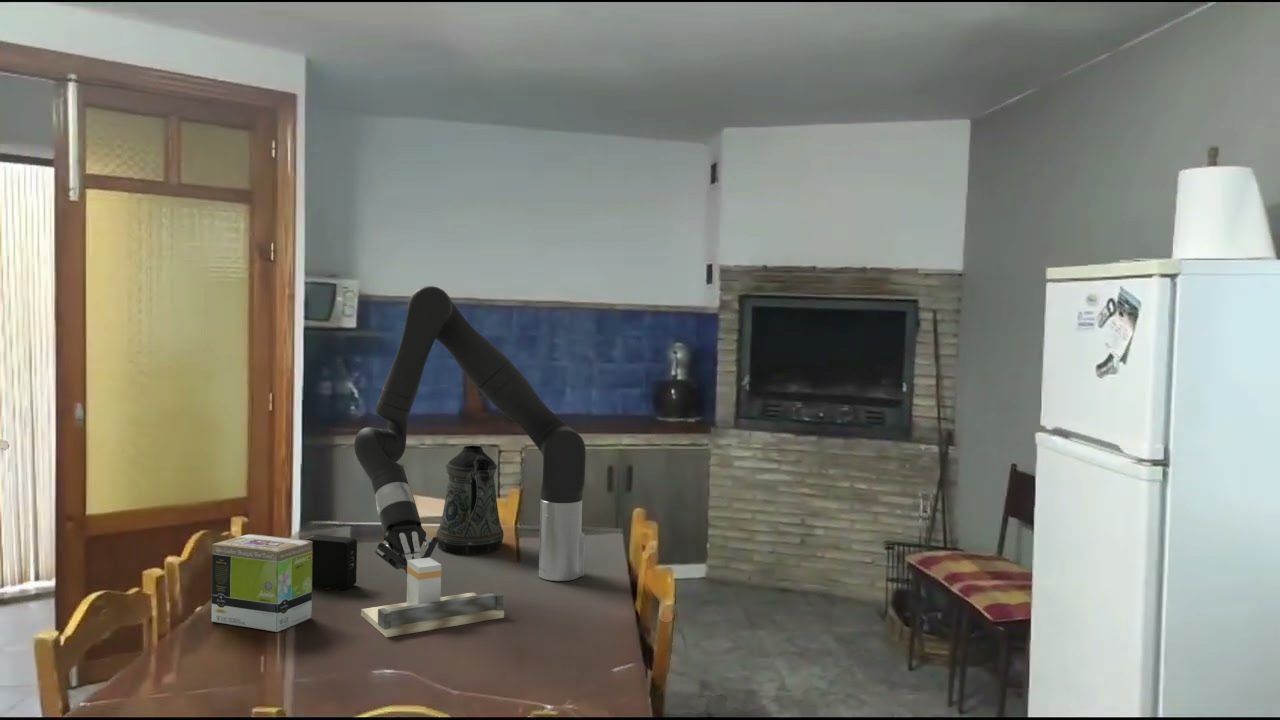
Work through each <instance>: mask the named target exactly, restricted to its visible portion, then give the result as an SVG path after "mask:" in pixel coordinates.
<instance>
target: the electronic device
mask: <svg viewBox="0 0 1280 720" xmlns="http://www.w3.org/2000/svg"><path fill="white" fill-rule="evenodd" d="M305 540H309V541H312V588H314V587H318V588H317V589H324V588H329V590H334V589H338V590H337V591H346V590H347V589H348V588H349V589H350V587H353V586H354V585H356V583H357V569H358V568H357V564H358V562H357V561H358V560H357V559H358V558H357V557H358V541H357V539H356V538H354V537H347V536H346V537H345V536H334V535H322V534H316V535H311V536H310V537H306V538H305Z"/></svg>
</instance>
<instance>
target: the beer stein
mask: <svg viewBox="0 0 1280 720" xmlns="http://www.w3.org/2000/svg"><path fill="white" fill-rule="evenodd" d="M497 468H498V465H497V464H496V463H495V461H494V460H493V459H492V458H491V457H490V456H489V455H487V453H485V451H484V450H483V447H482V446H481V445H480V446H479V445H466V446H463V448H462V451H460V452H459V453H458V454H457V455H455V456H454V457H453V458H452V459H451V460H449V461H448V462H447V464H446V465H445V469H446V473H447V474H448V481H447V488H446V492H445V498H444V499H445V500H444V505H443V511H442V516H441V519H440V524H439V526H438V528H437V531H436V533H435V537H437V538H438V542H437V549H438V548H439V549H438V550H440V551H442V552H444V553H447V554H453V555H464V556H465V555H481V554H490V553H494V552H497V551H498V550H500V549H502V544H503V539H504V529H503V527H502V524H501V521H500V516H499V510H498V509H499V508H498V501H497V494H496V483H495V474H496V472H497Z"/></svg>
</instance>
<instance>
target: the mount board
mask: <svg viewBox="0 0 1280 720" xmlns="http://www.w3.org/2000/svg"><path fill="white" fill-rule="evenodd" d="M406 605H407V601H406V602H400V603H393V604H387V605H379V606H374V607H373V606H372V607H368V608H367V607H366V608H361V610H360V615H361V617H362V618H363V619H364V620H366V622H368V623H370V625H371V626H372V627H373V628H375V629H376V630H377V631H378V632H380V633H381V634H382V635H383V636H384V637H385V638H391V637H396V636H398V637H399V636H402V635H403V636H404V635H408V634H416V633H419V632H420V633H421V632H426V631H431V630H437V629H444V628H449V627H456V626H462V625H467V624H472V623H474V624H475V623H480V622H484V621H490V620H496V619H504V618H505V610H504V595H503V594H502V593H500V592H499V591H495V590H494V591H490V593H484V594H477V593H475V592H466V593H459V594H454V595H453V594H451V595H447V596H441V600H440V601H436V602H430V603H423V604H417V605H410V606H406Z"/></svg>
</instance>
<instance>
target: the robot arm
mask: <svg viewBox="0 0 1280 720" xmlns="http://www.w3.org/2000/svg"><path fill="white" fill-rule="evenodd" d="M436 340H437V341H438V342H439V343H440V344H442V346H443V347H445V348H446V349H447V351H448V352H449V353H450V355H452V357H453V359H454V360H455V362H456V363H457V364H458V365H459V367H460V368H461V370H462V371H463V373H464V374H465V375H466V377H468V379H469V380H470V382H471V383H472V384H473V386H475V387H476V389H477V390H478V391H480V393H481V394H482V395H483V396H484V397H485V398H486V399H487V401H489V402H490V403H491V404H492V405H493V406H494V407H495V408H496V409H498V410H499V411H500V412H501V413H503V414H504V415H505V416H506V417H508V418H510V419H511V421H513V422H515V423H516V424H517V425H518V426H519V427H520V428H521V429H522V430H523V431H524V432H525V433H526V435H528V436H527V437H529V439H530V440H532V442H533V444H534V445H535V446H536V447H537V449H538V450H539V452H540V454H541V455H542V456H543V457H542V459H543V460H542V461H543V462H542V482H541V487H540V511H539V512H540V515H539V543H538V545H539V547H538V548H539V549H538V550H539V552H538V577H539V578H540V579H544V580H546V581H555V582H564V581H565V582H567V581H572V580H577V579H578V578H580V577H585V576H584V573H585V571H584V570H585V546H586V545H585V544H586V543H585V542H586V535H585V533H584V532H582V522H583V521H582V516H583V514H582V513H583V492H584V488H585V478H586V477H585V476H586V475H585V474H586V473H585V472H586V458H587V457H586V453H587V452H586V445H585V442H584V439H583V437H582V436H581V435H580V433H579V432H577V431H576V430H575V429H573V428H572V427H570V426H569V425H568V424H567V423H566V422H564V421H563V420H562V419H561V418H560V417H559V416H557V415H556V414H555V413H554V412H553V411H551V409H549V408H548V407H547V405H546V404H545V403H544V402H543V400H542V399H541V398H540V397H539V395H538V393H537V392H536V391H535V389H534V388H533V386H532V385H531V384H530V383H529V381H528V380H527V378H526V377H525V376H524V375H523V374H522V372H520V370H519V369H518V368H517V367H516V366H515V365H514V364H513V363H512V362H511V360H509V358H508V357H507V356H505V354H503V352H502V351H500V350H499V349H498V348H497V347H496V346H495V345H494V344H493V343H491V342H490V341H489V340H488V339H487V338H486V337H484V336H483V335H481V333H479V332H478V331H477V330H476V329H475V328H474V327H473V326H472V325H471V324H470V323H469V322H468V320H467V319H466V318H465V316H463V314H462V313H461V311H460V310H459V309H458V308H457V306H456V305H455V303H454V302H453V301H452V299H451V298H450V296H449V295H448V293H447V292H446V291H445V290H443V289H441V288H440V287H438V286H433V285H432V286H431V285H428V286H427V285H426V286H423V287H422V286H421V287H419V288H418V289H416V290H415V291H414V292H413V293H412V294H411V295H410V297H409V298H408V301H407V314H406V319H405V325H404V328H403V334H402V338H401V341H400V345H399V348H398V349H397V353H396V355H395V357H394V360H393V362H392V365H391V367H390V370H389V372H388V374H387V376H386V379H385V382H384V385H383V387H382V390H381V392H380V395H379V398H378V400H377V403H376V405H375V414H377V415H378V417H380V418H381V419H384V420H385V421H387V429H381V428H377V427H371V426H368V427H363V428H362V429H360V430H359V431H358V433H357V434H356V436H355V439H354V441H353V442H354V444H353V446H354V447H353V449H354V453H355V456H356V459H357V461H358V462H359V464H360V466H361V467H362V469H363V470H364V472H365V474H366V475H367V476H368V478H369V479H370V481H371V484H372V489H373V492H374V495H375V502H376V509H377V510H376V511H377V514H378V516H379V520H380V523H381V529H382V532H383V534H384V536H383V542H379V543H378V545H377V546H376V549H375V551H374V553H375V554H376V555H377V556H379V557H380V558H381V559H382V560H384V561H385V562H386V563H387V564H389V565H390V566H391V567H393V568H394V569H395V570H400V569H402V570H404V571H405V574H406V575H407V561H408V560H412V559H420V558H428V557H430V558H431V556H432V554H433V552H434V550H435V548H436V547H437V545H438V538H437V537H436V536H434V537H431V536H429V535H427V532H426V530H424V528H423V526H422V522H421V518H420V515H419V511H418V508H417V504H416V500H415V497H414V495H413V492H412V490H411V488H410V486H409V481H408V478H407V475H406V470H405V469H404V467H403V466H402V465H401V464H400V463H398V461H399V460H400V459H401V458H402V457H403V455H404V453H405V451H406V448H407V447H406V445H407V436H408V435H407V434H408V433H407V432H408V425H409V424H408V422H409V417H410V413H411V410H412V407H413V405H414V402H415V399H416V397H417V394H418V390H419V386H420V384H421V380H422V377H423V373H424V369H425V365H426V362H427V360H428V358H429V357H428V356H429V354H430V352H431V349H432V347H433V345H434V343H435V341H436ZM424 543H425V544H424ZM423 544H424V547H425V549H426V550H425V552H424V554H423V556H421V548H422V546H423Z"/></svg>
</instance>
